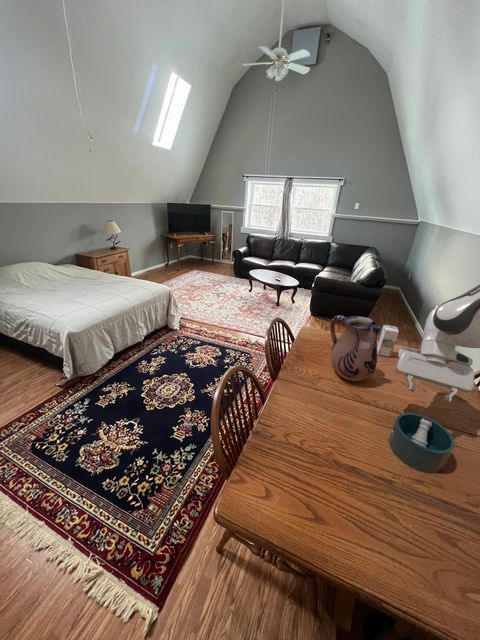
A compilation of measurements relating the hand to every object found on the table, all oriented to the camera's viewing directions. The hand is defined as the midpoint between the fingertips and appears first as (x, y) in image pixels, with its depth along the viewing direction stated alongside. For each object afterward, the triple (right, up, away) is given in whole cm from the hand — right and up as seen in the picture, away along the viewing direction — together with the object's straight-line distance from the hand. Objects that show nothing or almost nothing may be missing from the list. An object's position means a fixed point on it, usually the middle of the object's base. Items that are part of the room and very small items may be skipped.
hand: (428, 396), depth 83 cm
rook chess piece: (-5, -15, -2) cm, 15 cm away
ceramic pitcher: (-13, 0, +34) cm, 36 cm away
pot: (-5, -16, -1) cm, 17 cm away
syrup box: (+13, +6, +50) cm, 52 cm away
